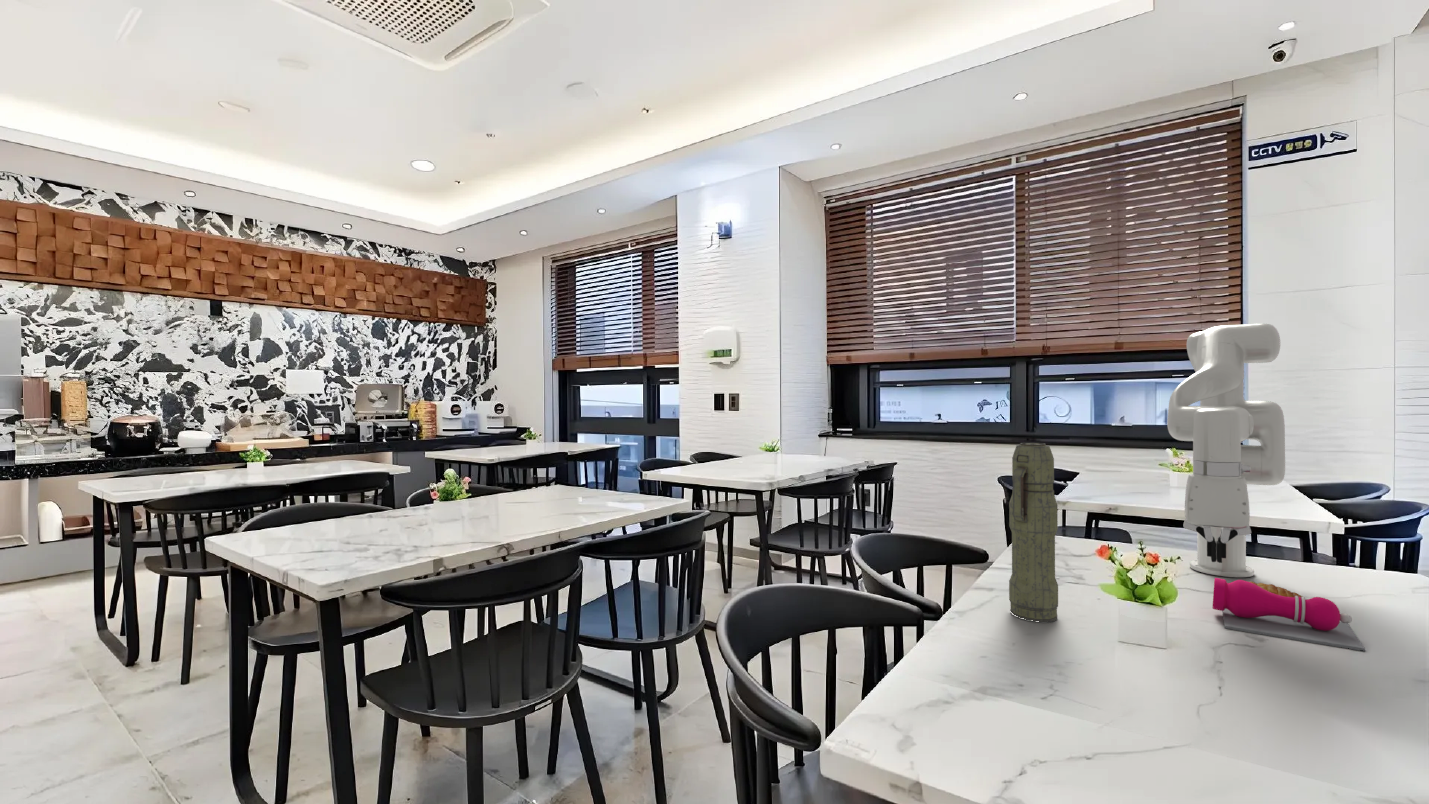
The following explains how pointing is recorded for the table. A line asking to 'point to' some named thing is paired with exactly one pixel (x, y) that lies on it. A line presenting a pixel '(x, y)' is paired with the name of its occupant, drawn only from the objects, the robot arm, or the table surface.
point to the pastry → (1277, 590)
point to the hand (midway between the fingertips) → (1216, 560)
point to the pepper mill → (1275, 605)
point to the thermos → (1033, 534)
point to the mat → (1294, 630)
